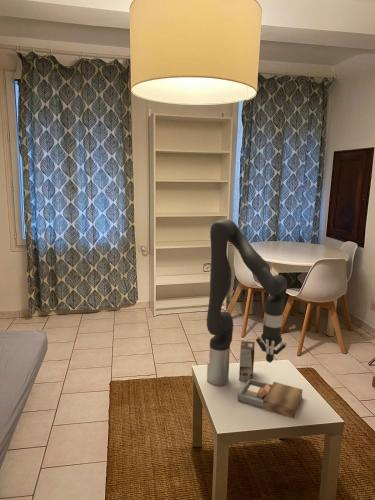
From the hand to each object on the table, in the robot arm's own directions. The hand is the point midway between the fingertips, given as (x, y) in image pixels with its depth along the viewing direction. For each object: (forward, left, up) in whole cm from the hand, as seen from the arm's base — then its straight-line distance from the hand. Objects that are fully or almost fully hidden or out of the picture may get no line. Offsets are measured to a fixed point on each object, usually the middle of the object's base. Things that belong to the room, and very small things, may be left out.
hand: (269, 361), depth 162 cm
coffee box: (-14, +13, -18) cm, 26 cm away
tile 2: (-1, 0, -15) cm, 15 cm away
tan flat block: (+7, 0, -17) cm, 19 cm away
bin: (-5, -1, -17) cm, 18 cm away
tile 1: (-6, 0, -15) cm, 16 cm away
